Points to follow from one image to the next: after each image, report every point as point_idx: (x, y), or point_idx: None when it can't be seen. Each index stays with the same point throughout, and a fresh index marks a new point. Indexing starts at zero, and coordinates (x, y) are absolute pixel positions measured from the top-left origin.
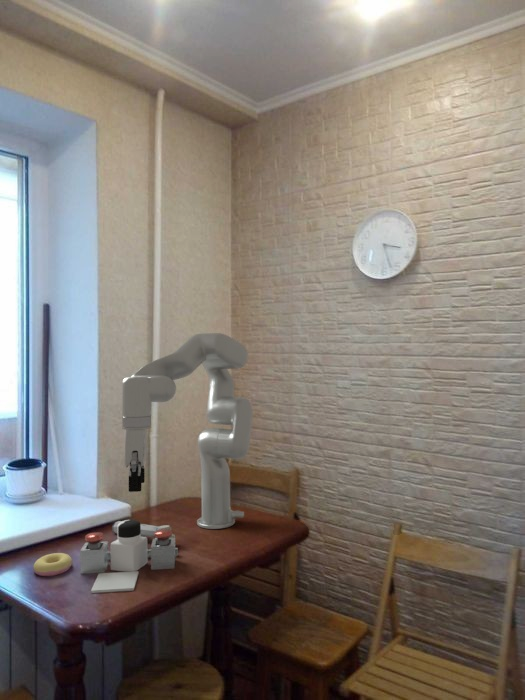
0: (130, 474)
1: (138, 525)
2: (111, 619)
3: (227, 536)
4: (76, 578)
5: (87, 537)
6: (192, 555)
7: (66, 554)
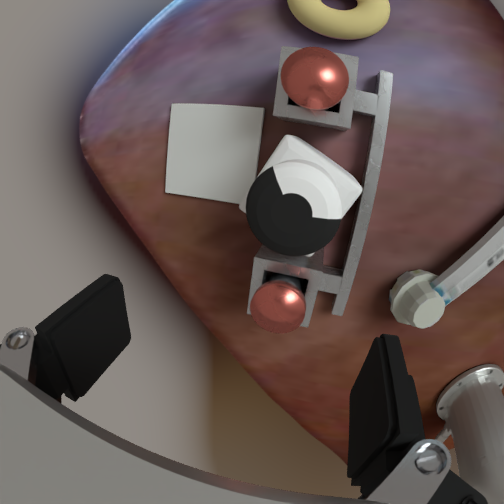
0: (11, 341)
1: (266, 246)
2: (86, 159)
3: None
4: (264, 58)
5: (294, 54)
6: (324, 332)
7: (365, 21)
